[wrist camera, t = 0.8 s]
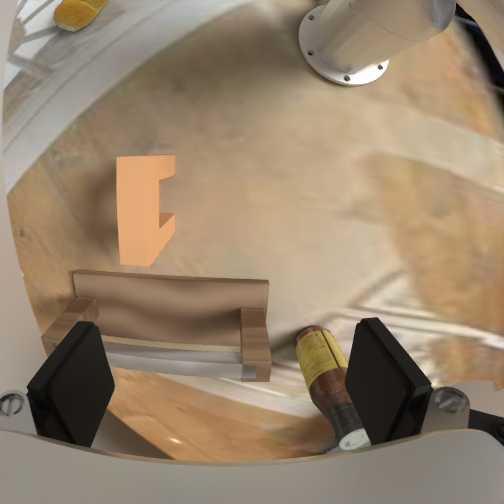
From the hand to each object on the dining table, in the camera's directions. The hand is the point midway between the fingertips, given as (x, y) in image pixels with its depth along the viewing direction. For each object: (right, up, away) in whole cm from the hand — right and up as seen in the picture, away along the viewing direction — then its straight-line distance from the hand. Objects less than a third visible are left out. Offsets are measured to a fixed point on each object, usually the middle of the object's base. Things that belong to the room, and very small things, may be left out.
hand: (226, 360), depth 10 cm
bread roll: (-24, +39, +17) cm, 49 cm away
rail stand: (-11, -4, +32) cm, 34 cm away
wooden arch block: (-10, +11, +27) cm, 31 cm away
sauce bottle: (+10, -10, +35) cm, 38 cm away
